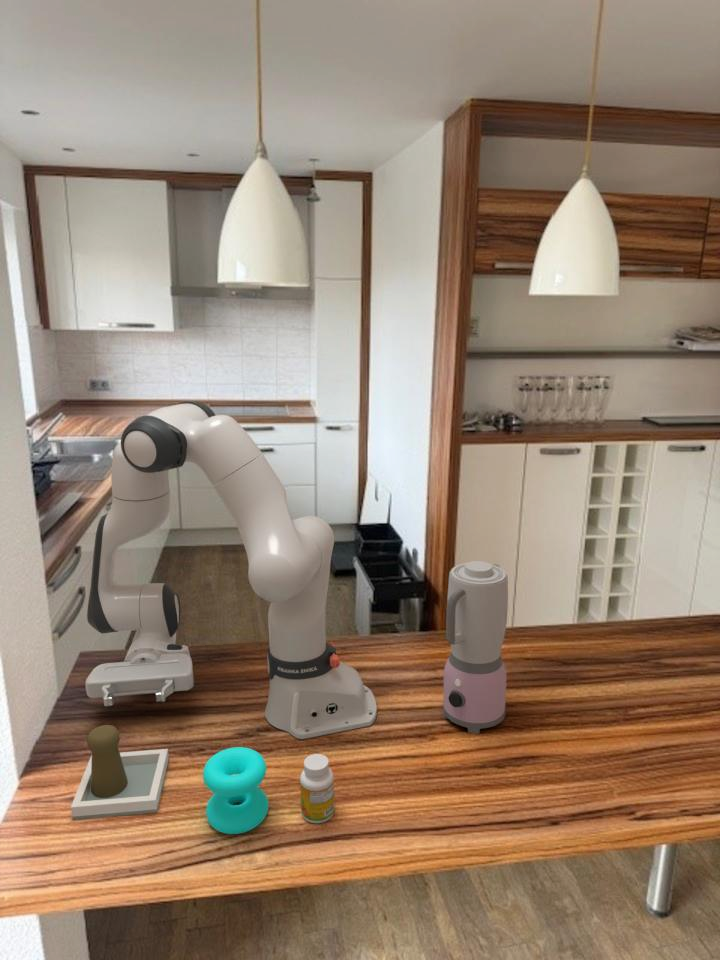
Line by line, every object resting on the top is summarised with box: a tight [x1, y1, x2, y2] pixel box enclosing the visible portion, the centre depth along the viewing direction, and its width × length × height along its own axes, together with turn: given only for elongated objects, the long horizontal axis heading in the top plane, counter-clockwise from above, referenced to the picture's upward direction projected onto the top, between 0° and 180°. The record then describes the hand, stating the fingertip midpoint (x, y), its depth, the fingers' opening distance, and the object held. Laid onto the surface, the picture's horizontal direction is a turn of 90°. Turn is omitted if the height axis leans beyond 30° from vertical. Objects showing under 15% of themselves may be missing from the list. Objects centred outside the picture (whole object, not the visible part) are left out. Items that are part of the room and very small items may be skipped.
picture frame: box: [70, 748, 170, 821], centre depth 123 cm, size 13×13×2 cm
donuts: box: [202, 746, 269, 835], centre depth 115 cm, size 10×10×10 cm
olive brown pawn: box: [86, 724, 128, 798], centre depth 121 cm, size 6×6×11 cm
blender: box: [442, 560, 509, 735], centre depth 137 cm, size 16×12×32 cm
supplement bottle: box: [299, 753, 335, 824], centre depth 116 cm, size 5×5×10 cm
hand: (134, 700), depth 133 cm, fingers open, 8 cm apart
